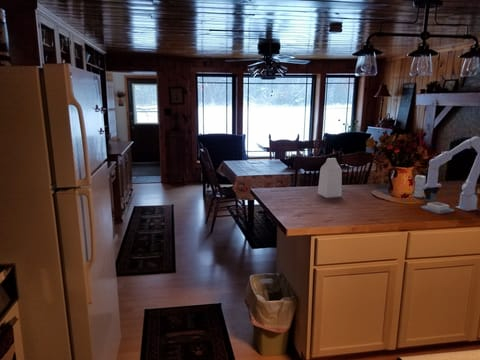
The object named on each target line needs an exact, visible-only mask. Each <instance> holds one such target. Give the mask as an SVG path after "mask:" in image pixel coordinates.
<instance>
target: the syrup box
mask: <svg viewBox="0 0 480 360" xmlns="http://www.w3.org/2000/svg"><path fill="white" fill-rule="evenodd" d="M426 180H427V178H426V175H422V174H421V175H420V174H417V175H415V176H414V181H415V189H414V193H413V192H412V197H413V196H414V198H419V197H420V199H421V198H423V197H424V195H425V192H424V190H423V189H422V185H426Z"/></svg>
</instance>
